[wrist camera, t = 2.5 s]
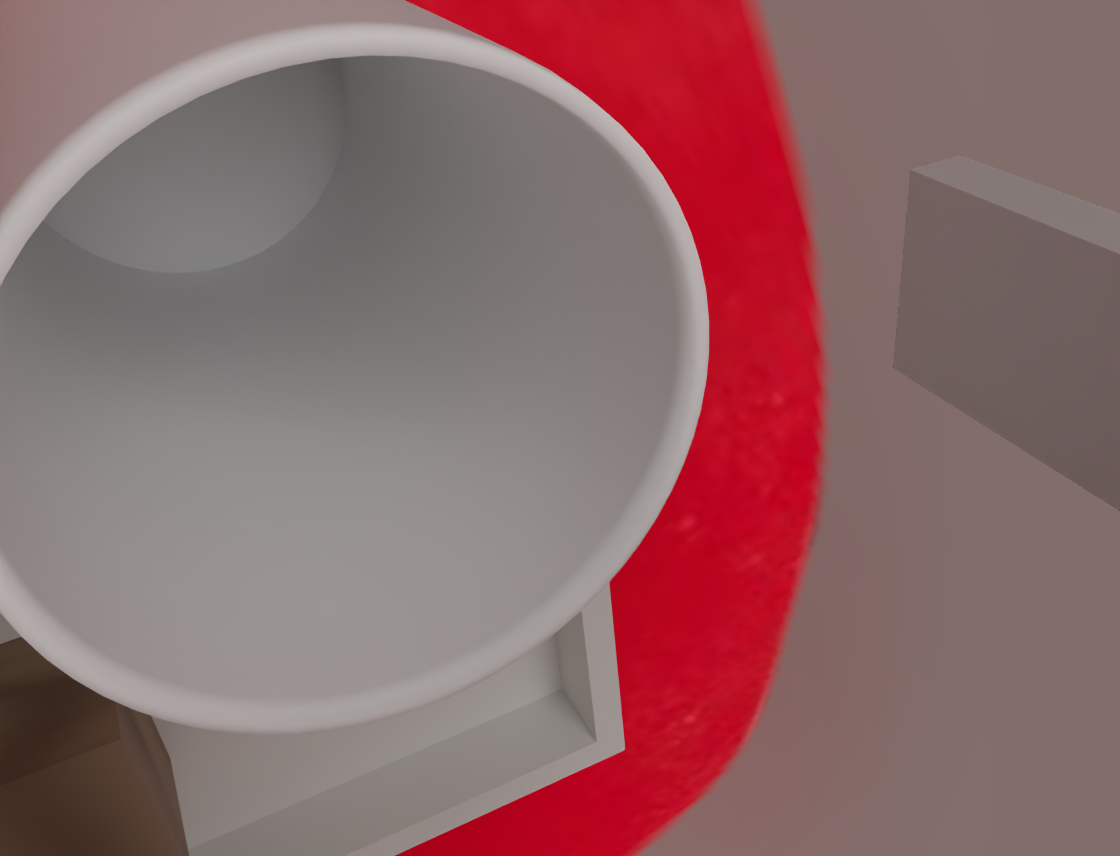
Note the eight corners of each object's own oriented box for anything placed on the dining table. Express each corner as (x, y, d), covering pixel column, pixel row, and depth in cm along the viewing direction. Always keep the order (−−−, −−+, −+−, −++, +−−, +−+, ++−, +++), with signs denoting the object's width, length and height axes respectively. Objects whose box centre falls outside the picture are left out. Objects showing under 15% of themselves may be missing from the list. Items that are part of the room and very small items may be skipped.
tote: (1, 931, 32) (3, 1035, 30) (-274, 528, 24) (-307, 621, 21) (579, 683, 39) (625, 749, 36) (531, 290, 30) (585, 339, 27)
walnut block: (-11, 830, 30) (-10, 985, 26) (-105, 680, 26) (-121, 833, 22) (169, 757, 31) (196, 893, 27) (101, 608, 28) (121, 738, 24)
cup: (225, -177, 22) (554, -154, 9) (410, 162, 27) (785, 476, 14) (-136, 27, 21) (-322, 369, 8) (128, 339, 26) (265, 843, 13)
